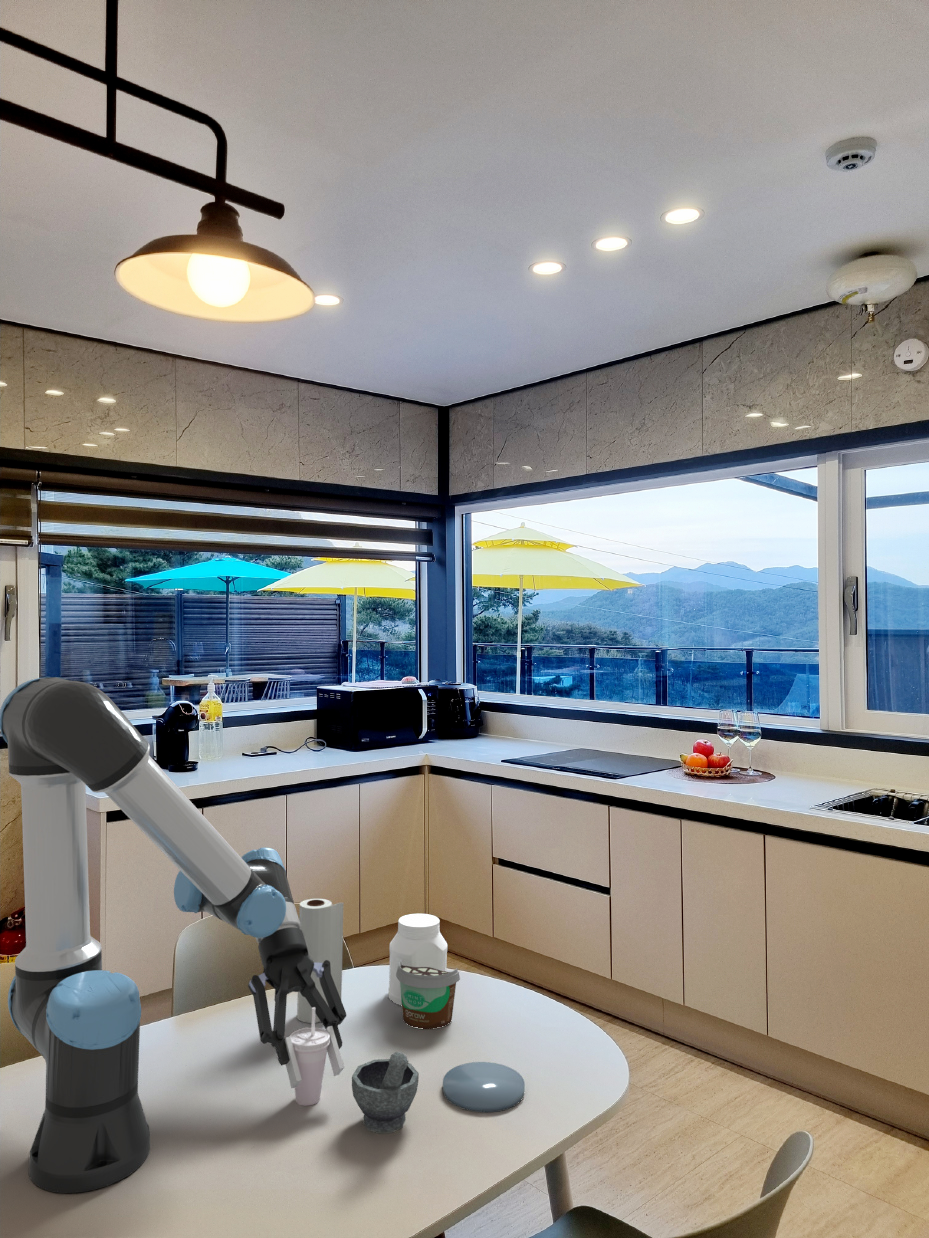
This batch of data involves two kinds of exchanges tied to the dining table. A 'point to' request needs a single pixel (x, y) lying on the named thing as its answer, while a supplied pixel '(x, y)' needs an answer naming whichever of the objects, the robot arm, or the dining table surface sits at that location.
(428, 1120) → the dining table surface
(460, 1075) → the dish
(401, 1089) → the mortar and pestle
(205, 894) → the robot arm
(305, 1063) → the smoothie
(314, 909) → the paper towel roll
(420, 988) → the food container
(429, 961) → the jar
